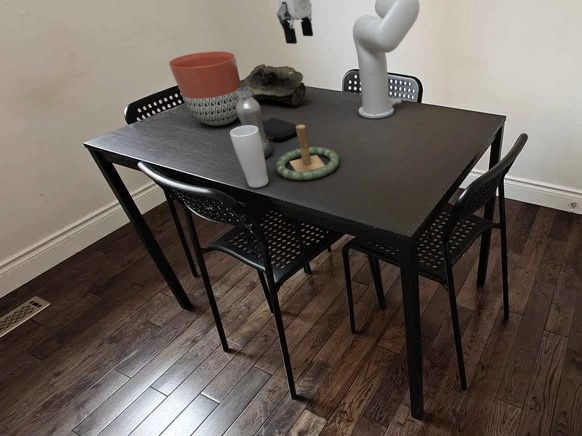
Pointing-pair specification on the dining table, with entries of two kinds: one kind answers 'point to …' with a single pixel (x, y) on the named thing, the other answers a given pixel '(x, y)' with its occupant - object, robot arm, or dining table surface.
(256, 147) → the drinking glass
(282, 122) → the carrying case
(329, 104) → the dining table surface
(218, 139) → the dining table surface
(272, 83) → the hollow geode rock
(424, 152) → the dining table surface
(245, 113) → the plastic bottle
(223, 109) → the planter
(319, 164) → the coat peg
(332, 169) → the hoop
